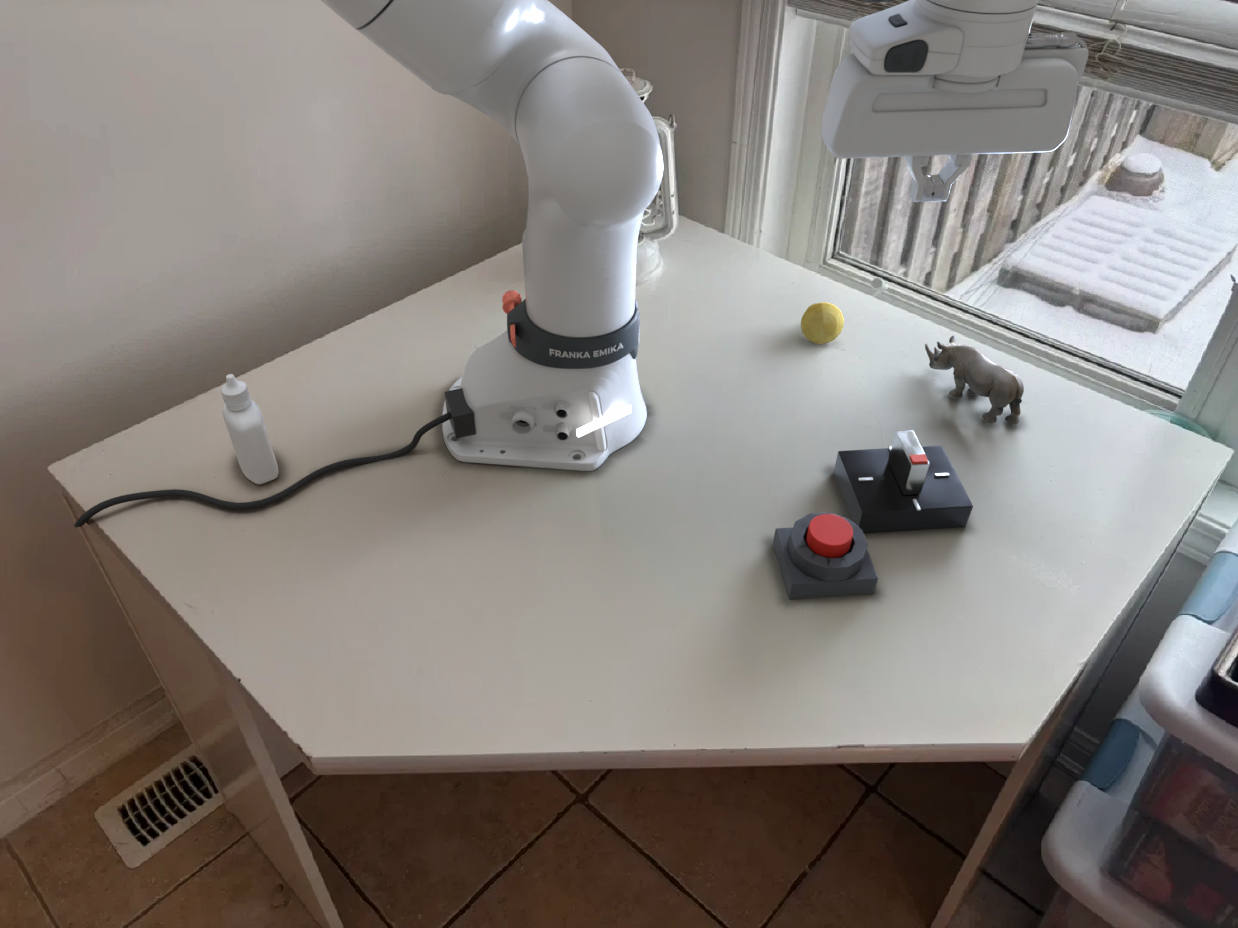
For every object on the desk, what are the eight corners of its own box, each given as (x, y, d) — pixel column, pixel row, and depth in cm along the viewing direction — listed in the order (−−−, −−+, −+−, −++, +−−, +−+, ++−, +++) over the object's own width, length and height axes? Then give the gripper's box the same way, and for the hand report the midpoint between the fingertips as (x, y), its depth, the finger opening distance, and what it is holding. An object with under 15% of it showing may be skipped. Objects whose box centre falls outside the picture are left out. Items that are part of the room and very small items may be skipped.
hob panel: (857, 535, 95) (863, 512, 93) (833, 471, 102) (838, 448, 100) (966, 528, 96) (974, 505, 94) (934, 465, 103) (942, 443, 101)
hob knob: (887, 461, 99) (896, 429, 96) (904, 459, 99) (913, 428, 96) (902, 495, 95) (912, 463, 92) (920, 494, 95) (930, 462, 92)
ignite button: (812, 560, 88) (814, 546, 87) (801, 528, 91) (804, 514, 90) (855, 557, 88) (858, 544, 87) (843, 525, 91) (846, 512, 90)
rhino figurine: (933, 358, 117) (945, 316, 113) (1025, 421, 108) (1041, 378, 104) (908, 369, 115) (920, 327, 111) (999, 434, 107) (1015, 391, 103)
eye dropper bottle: (285, 449, 103) (258, 357, 95) (277, 485, 99) (248, 392, 91) (242, 451, 103) (212, 359, 95) (233, 488, 99) (200, 395, 91)
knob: (841, 346, 118) (848, 311, 115) (799, 345, 118) (805, 311, 115) (836, 324, 122) (842, 290, 118) (794, 323, 122) (800, 289, 118)
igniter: (788, 600, 89) (794, 571, 86) (772, 543, 94) (777, 514, 91) (874, 594, 90) (882, 565, 87) (853, 538, 95) (860, 509, 92)
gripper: (1077, 18, 79) (1027, 177, 88) (830, 23, 77) (805, 185, 86) (1114, 45, 74) (1057, 211, 83) (852, 52, 73) (823, 220, 82)
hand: (927, 198), depth 85 cm, fingers closed
